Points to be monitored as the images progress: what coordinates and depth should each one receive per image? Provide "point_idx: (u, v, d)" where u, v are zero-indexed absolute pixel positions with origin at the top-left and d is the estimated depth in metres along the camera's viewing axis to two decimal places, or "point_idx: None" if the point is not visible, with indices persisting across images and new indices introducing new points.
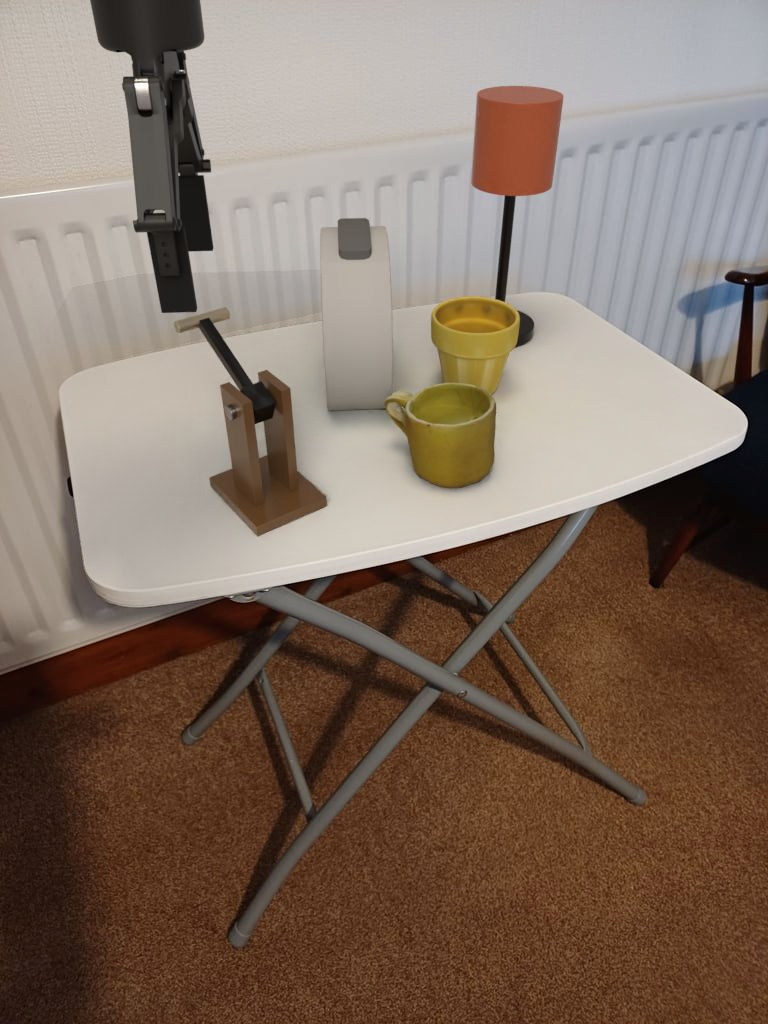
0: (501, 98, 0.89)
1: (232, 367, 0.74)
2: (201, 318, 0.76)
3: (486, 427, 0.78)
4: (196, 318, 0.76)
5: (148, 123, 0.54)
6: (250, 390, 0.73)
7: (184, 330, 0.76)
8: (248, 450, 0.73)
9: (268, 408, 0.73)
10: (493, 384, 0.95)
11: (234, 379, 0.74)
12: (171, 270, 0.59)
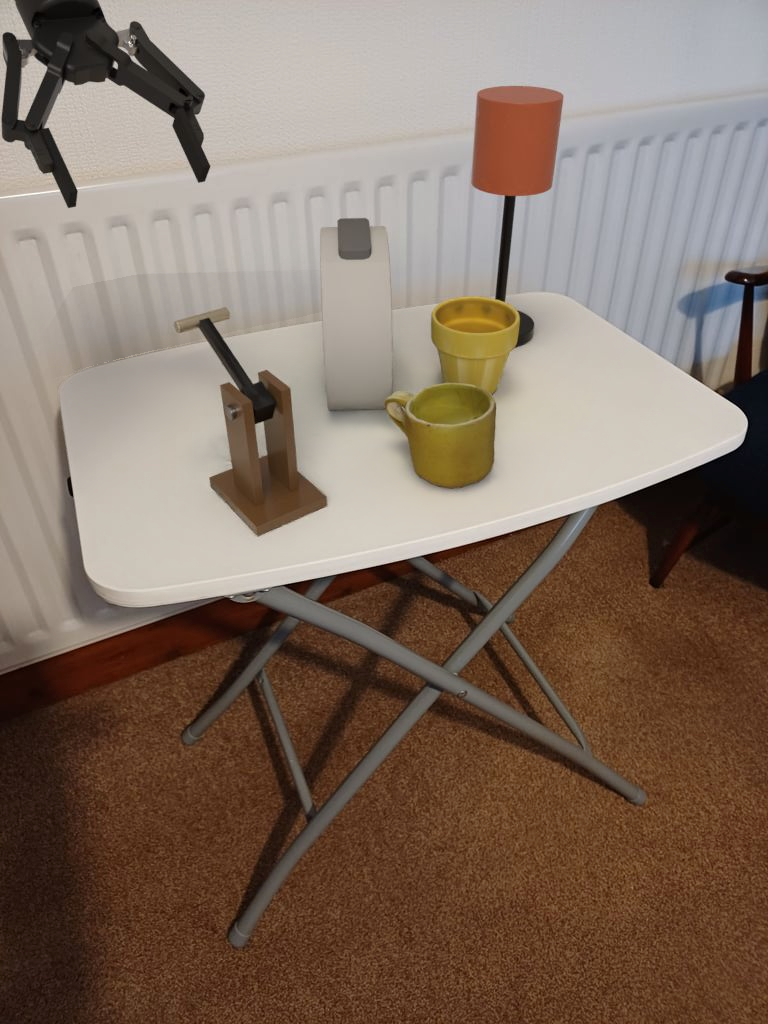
0: (501, 98, 0.89)
1: (232, 367, 0.74)
2: (201, 318, 0.76)
3: (486, 427, 0.78)
4: (196, 318, 0.76)
5: None
6: (250, 390, 0.73)
7: (184, 330, 0.76)
8: (248, 450, 0.73)
9: (268, 408, 0.73)
10: (493, 384, 0.95)
11: (234, 379, 0.74)
12: None
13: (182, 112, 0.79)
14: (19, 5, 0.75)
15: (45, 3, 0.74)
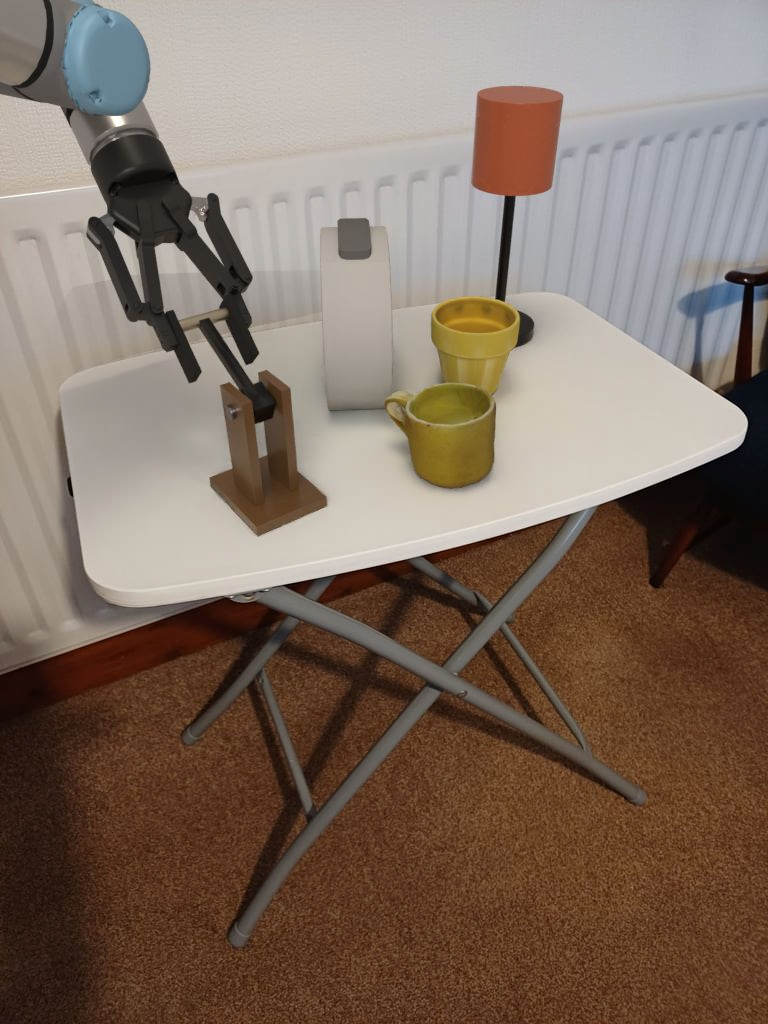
0: (501, 98, 0.89)
1: (232, 367, 0.74)
2: (201, 318, 0.76)
3: (486, 427, 0.78)
4: (196, 318, 0.76)
5: None
6: (250, 390, 0.73)
7: (184, 330, 0.76)
8: (248, 450, 0.73)
9: (268, 408, 0.73)
10: (493, 384, 0.95)
11: (234, 379, 0.74)
12: None
13: (230, 298, 0.77)
14: (95, 172, 0.75)
15: (123, 174, 0.73)
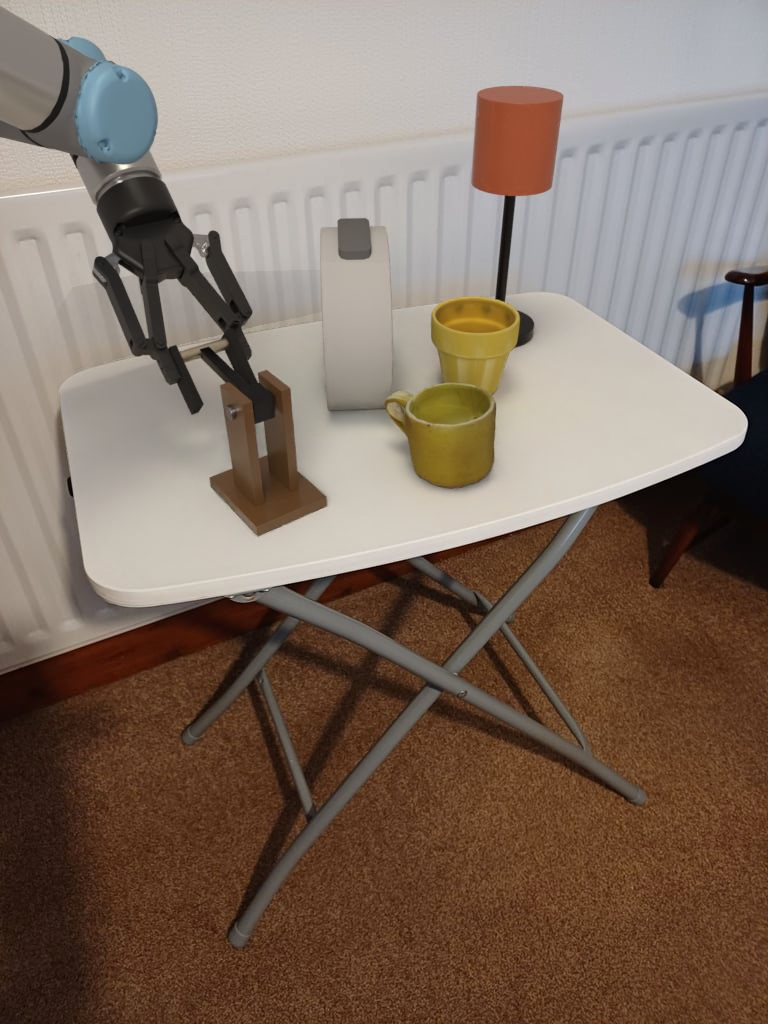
0: (501, 98, 0.89)
1: (231, 378, 0.76)
2: (201, 347, 0.79)
3: (486, 427, 0.78)
4: (196, 348, 0.79)
5: None
6: (248, 389, 0.73)
7: (186, 359, 0.79)
8: (248, 450, 0.73)
9: (266, 402, 0.72)
10: (493, 384, 0.95)
11: None
12: None
13: (231, 332, 0.80)
14: (101, 213, 0.78)
15: (127, 216, 0.77)
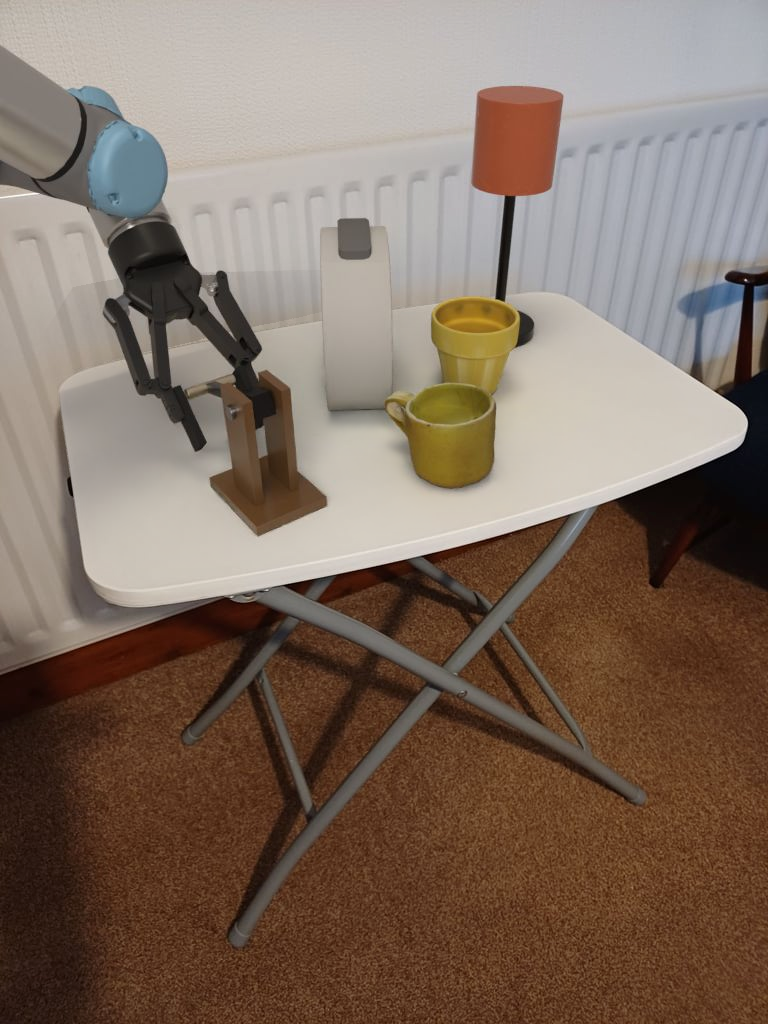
0: (501, 98, 0.89)
1: None
2: (208, 383, 0.82)
3: (486, 427, 0.78)
4: (203, 383, 0.82)
5: None
6: (246, 391, 0.74)
7: (193, 394, 0.81)
8: (248, 450, 0.73)
9: (264, 396, 0.72)
10: (493, 384, 0.95)
11: None
12: None
13: (241, 369, 0.83)
14: (112, 257, 0.80)
15: (138, 260, 0.79)
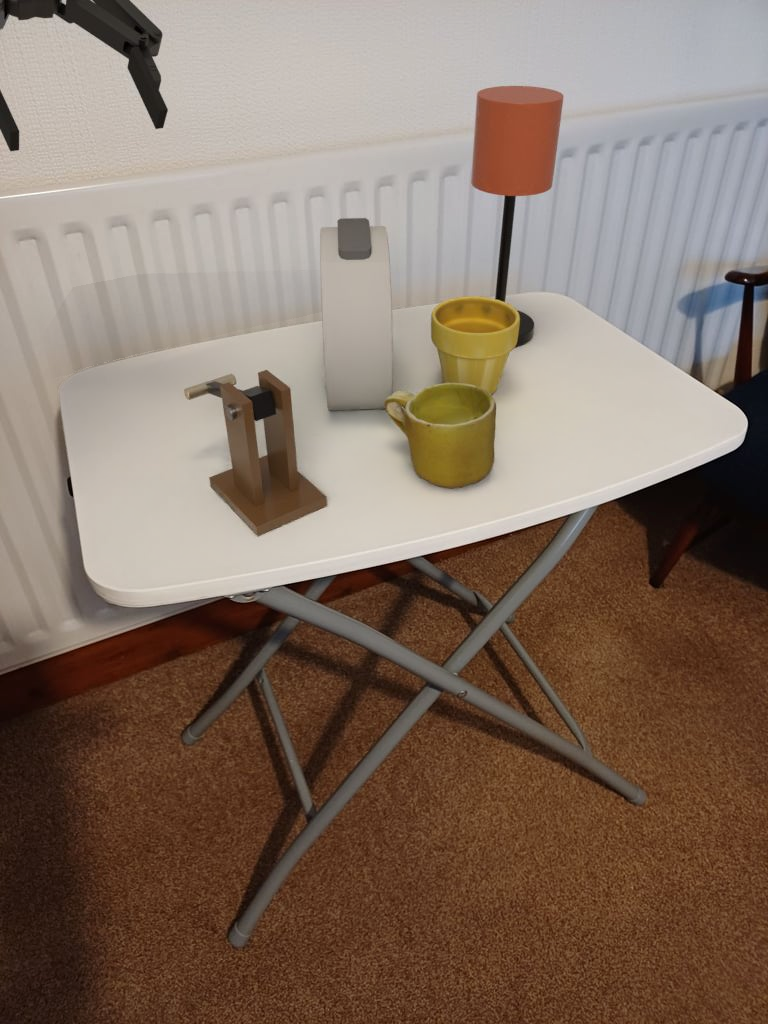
0: (501, 98, 0.89)
1: None
2: (208, 383, 0.82)
3: (486, 427, 0.78)
4: (203, 383, 0.82)
5: None
6: (246, 391, 0.74)
7: (193, 394, 0.81)
8: (248, 450, 0.73)
9: (264, 396, 0.72)
10: (493, 384, 0.95)
11: None
12: None
13: (137, 51, 0.73)
14: None
15: None
